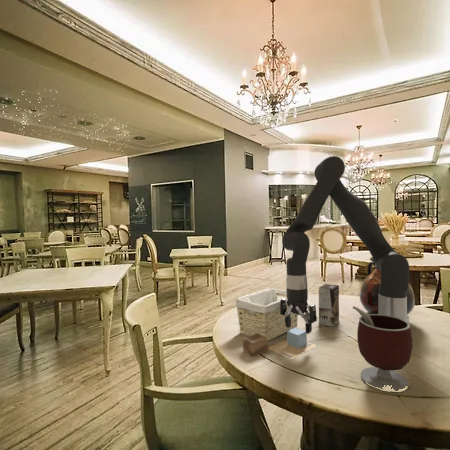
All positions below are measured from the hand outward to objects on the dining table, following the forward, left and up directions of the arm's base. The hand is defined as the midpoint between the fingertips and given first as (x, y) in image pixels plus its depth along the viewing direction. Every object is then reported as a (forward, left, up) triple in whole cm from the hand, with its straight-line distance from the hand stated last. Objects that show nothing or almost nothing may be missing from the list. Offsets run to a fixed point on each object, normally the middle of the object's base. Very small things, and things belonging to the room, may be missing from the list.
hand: (298, 329), depth 110 cm
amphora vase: (-12, -49, -6) cm, 50 cm away
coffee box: (+4, -29, -6) cm, 30 cm away
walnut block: (+7, +15, -6) cm, 18 cm away
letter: (0, +3, -6) cm, 6 cm away
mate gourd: (-30, +1, -6) cm, 30 cm away
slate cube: (0, 0, -5) cm, 5 cm away
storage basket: (+17, -3, -6) cm, 18 cm away
